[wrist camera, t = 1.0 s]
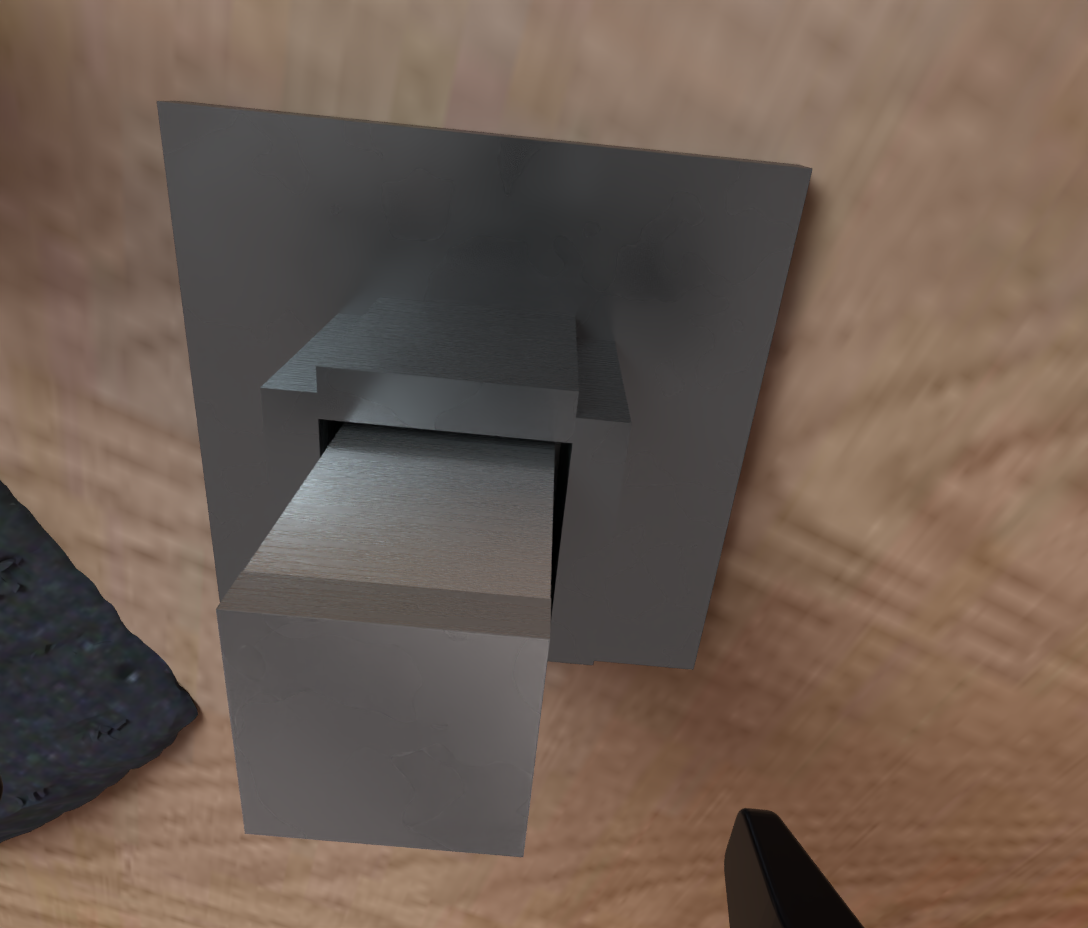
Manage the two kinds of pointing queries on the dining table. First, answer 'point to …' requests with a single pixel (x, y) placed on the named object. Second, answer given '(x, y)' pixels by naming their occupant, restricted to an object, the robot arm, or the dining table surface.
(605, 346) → the stand
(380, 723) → the column
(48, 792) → the dark slate chunk
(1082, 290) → the dining table surface
